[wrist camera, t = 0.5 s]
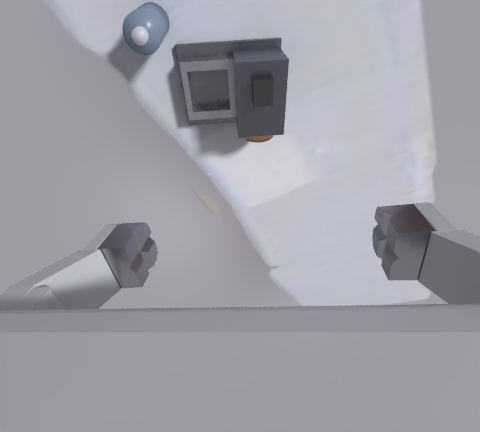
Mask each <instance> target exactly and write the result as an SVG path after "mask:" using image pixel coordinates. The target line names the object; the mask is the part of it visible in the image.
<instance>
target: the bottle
mask: <svg viewBox="0 0 480 432" xmlns="http://www.w3.org/2000/svg"><path fill="white" fill-rule="evenodd" d="M168 30H169V19H168V16H167V14H166V12H165V11H164V9H163V8H162V7H161V6H159V5H158V4H156V3H152V2H148V3H145V4H143V5H142V6H140V7H139V8H137V9H136V10H134V11H133V12H131V13H130V14H128V15H127V16H126V18H125V19H124V22H123V35H124V38H125V40H126V42H127V43H128V45H129V46H130V47H131V48H132V49H133V50H134V51H136V52H138V53H140V54H144V55H148V54H152V53H154V52H155V51H156V50H157V49H158V48H159V46H160V44H161V43H162V41H163V39H164V38H165V36H166V34H167V33H168Z"/></svg>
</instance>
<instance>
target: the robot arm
mask: <svg viewBox="0 0 480 432" xmlns="http://www.w3.org/2000/svg"><path fill="white" fill-rule="evenodd" d="M375 220H376V221H377V223H378V225H377V226H376V227H375V228H374V229H373V237H372V238H373V247H374V250H375V253H376V255H377V256H378V257H379V258H381V259H382V265H381V266H382V268H383V270H384V272H385V274H386V276H387V278H388V280H418V281H419V282H420V283H421V284H423V285H424V286H425V287H427V288H428V289H429V290H431V291H432V292H433V293H435V294H436V295H438V296H439V297H440V298H442V299H443V300H444V301H446V302H447V303H448V304H430V305H356V306H285V307H223V308H222V307H220V308H147V309H98V308H99V307H101V306H102V305H103V304H104V303H105V302H107V301H108V300H109V299H110V298H111V297H112V296H113V295H115V294H116V293H117V292H118V291H119V290H120V288H134V287H143V285H144V283H145V281H146V279H147V277H148V275H149V272H148V269H149V268H151V267H152V266H154V264H155V262H156V260H157V253H158V252H157V247H156V244H155V241H154V240H152V239H151V238H150V237H149V236H150V234H151V230H150V228H149V226H148V224H146V223H124V224H109V225H105V226H104V227H103V229H102V230H101V231H100V232H99V233H98V234H97V235H96V236H95V237H94V238H93V240H92V241H91V242H90V243H89V244H88V245H87V246H86V247H85V248H84V249H83V250H79V251H77V252H75V253H73V254H71V255H69V256H67V257H65V258H64V259H62V260H60V261H58V262H56V263H54V264H52V265H50V266H48V267H46V268H45V269H43V270H41V271H39V272H37V273H35V274H33V275H31V276H29V277H27V278H26V279H24V280H22V281H20V282H18V283H16V284H14V285H12V286H10V287H9V288H8V289H7V290H6V291H5V292H4V293H3V294H2V295H0V432H480V236H478V235H475V234H472V233H470V232H467V231H464V230H457V229H456V228H455V227H454V226H453V225H452V224H451V223H450V222H449V221H448V220H447V219H446V218H445V217H444V216H443V215H442V214H441V213H440V212H439V211H438V210H437V209H436V208H435V207H434V206H433V205H432V204H431V203H428V202H425V203H416V204H406V205H395V206H384V207H377V209H376V213H375Z"/></svg>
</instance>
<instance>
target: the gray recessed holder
mask: <svg viewBox="0 0 480 432" xmlns="http://www.w3.org/2000/svg"><path fill="white" fill-rule="evenodd" d="M175 47H176V52H177V58H178V64H179V70H180V75H181V81H182V87H183V93H184V99H185V104H186V110H187V116H188V122H189V125H194V124H208V123H222V122H236V123H237V130H238V136H239V138H242V137H243V138H244V139H245V140H247V141H250V142H265V141H268V140H270V139H271V138H273V135H283V134H284V120H285V106H286V92H287V78H288V64H289V59H288V58H287V56H286V55H285V54H284V53H283V51H282V50H281V38H268V39H252V40H236V41H221V42H205V43H190V44H176V45H175Z"/></svg>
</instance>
